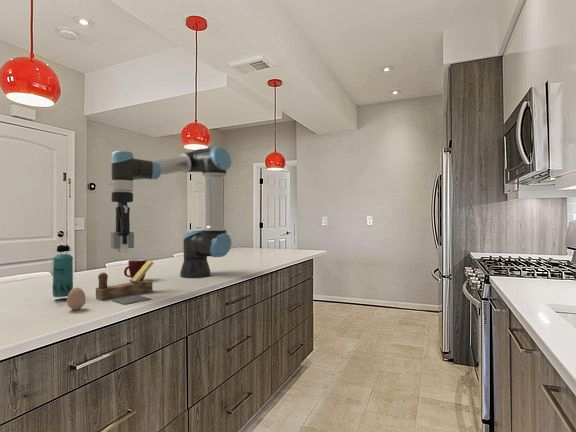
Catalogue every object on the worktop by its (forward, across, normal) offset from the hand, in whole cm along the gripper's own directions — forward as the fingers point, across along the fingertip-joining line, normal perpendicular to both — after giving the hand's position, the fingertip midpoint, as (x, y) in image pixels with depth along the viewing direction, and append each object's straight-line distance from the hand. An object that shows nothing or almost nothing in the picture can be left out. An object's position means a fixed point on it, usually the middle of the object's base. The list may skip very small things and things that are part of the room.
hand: (122, 252), depth 138 cm
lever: (+12, -3, +5) cm, 13 cm away
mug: (+17, -30, +11) cm, 36 cm away
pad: (+17, +9, +1) cm, 19 cm away
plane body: (+17, -2, +1) cm, 17 cm away
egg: (+17, +12, -16) cm, 27 cm away
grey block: (-2, 0, 0) cm, 2 cm away
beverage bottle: (+17, -8, -19) cm, 27 cm away
